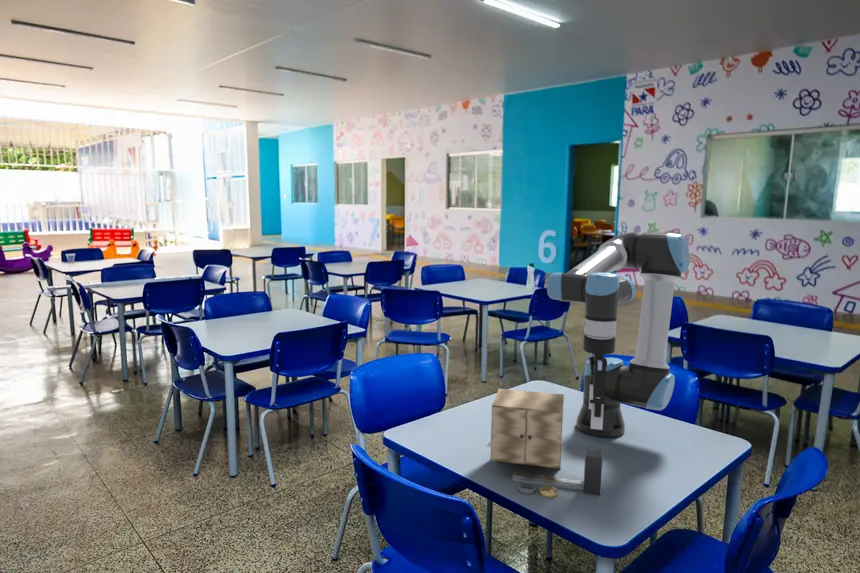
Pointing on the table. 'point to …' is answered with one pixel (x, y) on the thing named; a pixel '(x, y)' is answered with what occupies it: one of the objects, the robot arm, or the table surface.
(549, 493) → the brass disc
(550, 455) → the cabinet
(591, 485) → the grey mallet
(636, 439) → the table surface
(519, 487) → the steel disc
